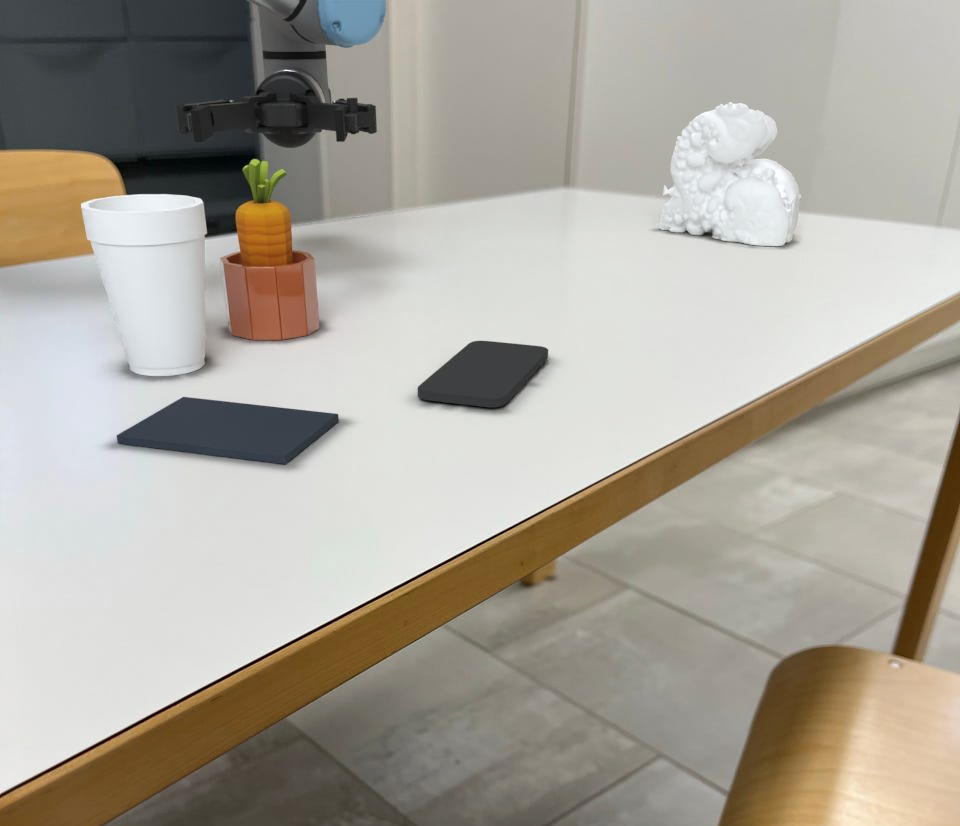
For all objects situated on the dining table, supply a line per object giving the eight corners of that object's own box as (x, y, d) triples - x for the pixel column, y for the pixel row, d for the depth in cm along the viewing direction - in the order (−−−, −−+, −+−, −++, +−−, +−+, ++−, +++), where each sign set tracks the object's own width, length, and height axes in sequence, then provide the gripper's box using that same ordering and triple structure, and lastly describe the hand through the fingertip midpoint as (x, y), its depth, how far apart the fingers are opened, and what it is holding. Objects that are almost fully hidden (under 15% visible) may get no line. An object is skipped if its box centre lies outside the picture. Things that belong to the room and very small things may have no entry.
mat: (117, 443, 72) (116, 435, 72) (184, 404, 79) (183, 396, 79) (285, 464, 69) (284, 456, 69) (338, 421, 76) (338, 413, 76)
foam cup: (90, 364, 88) (59, 202, 81) (185, 344, 94) (164, 190, 87) (146, 389, 82) (117, 217, 76) (244, 366, 88) (225, 203, 81)
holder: (212, 336, 96) (203, 264, 93) (255, 314, 103) (248, 246, 100) (294, 343, 94) (287, 270, 91) (332, 320, 101) (327, 251, 98)
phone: (412, 390, 80) (472, 339, 92) (412, 400, 80) (472, 348, 92) (502, 400, 78) (552, 347, 90) (502, 411, 78) (551, 356, 91)
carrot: (271, 319, 102) (254, 153, 94) (310, 326, 99) (297, 156, 92) (237, 330, 98) (216, 158, 90) (276, 337, 96) (259, 162, 88)
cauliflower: (837, 178, 126) (713, 76, 126) (731, 311, 137) (617, 218, 138) (851, 169, 141) (740, 78, 142) (754, 289, 153) (652, 205, 153)
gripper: (401, 144, 119) (399, 168, 101) (183, 145, 117) (142, 169, 99) (398, 70, 115) (396, 81, 97) (173, 70, 113) (129, 81, 95)
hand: (268, 126), depth 98 cm, fingers open, 13 cm apart
